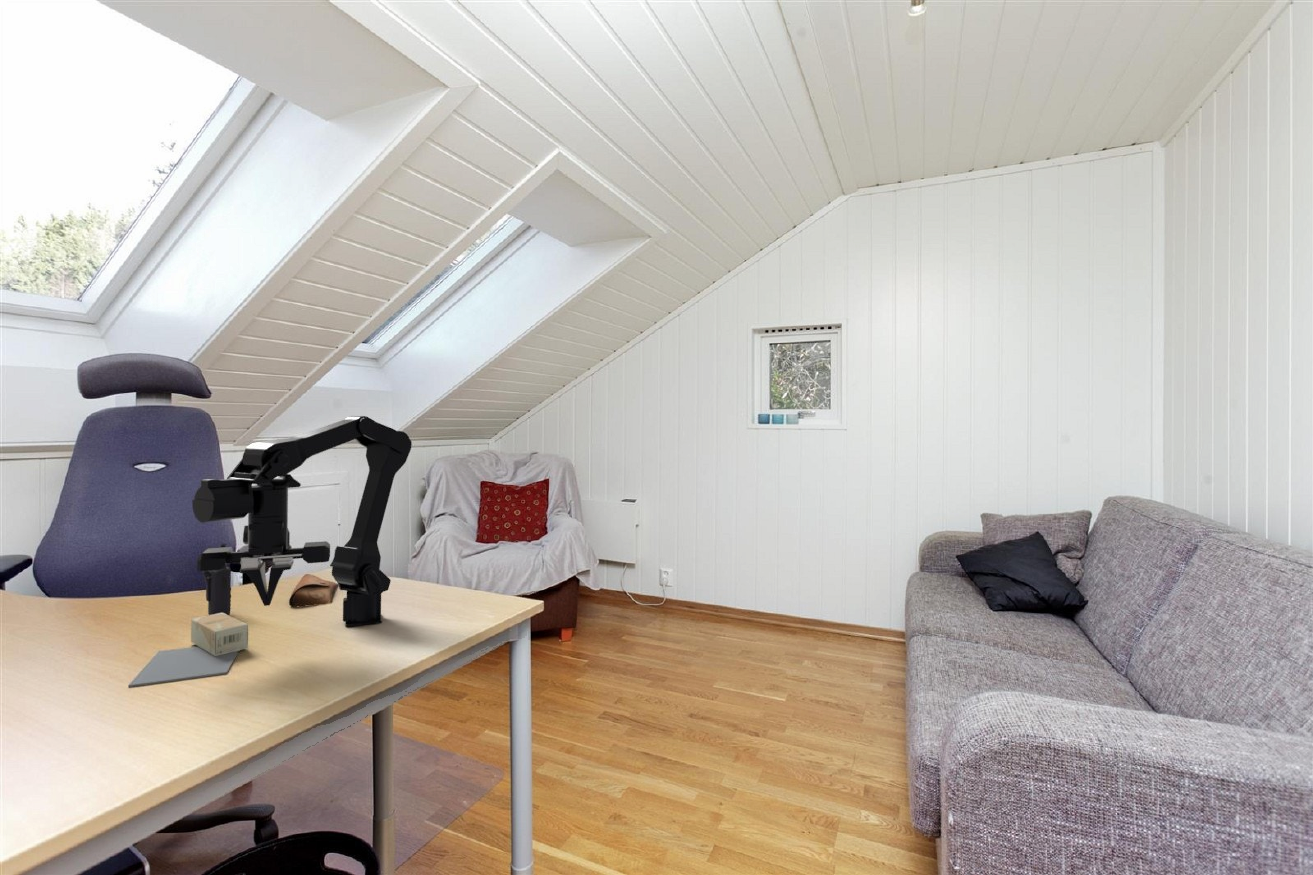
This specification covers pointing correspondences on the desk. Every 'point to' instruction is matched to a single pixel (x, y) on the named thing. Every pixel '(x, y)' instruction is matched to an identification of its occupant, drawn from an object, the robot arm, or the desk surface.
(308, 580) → the sunglasses case
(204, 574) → the two-way radio
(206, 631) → the box
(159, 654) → the felt pad
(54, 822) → the desk surface
